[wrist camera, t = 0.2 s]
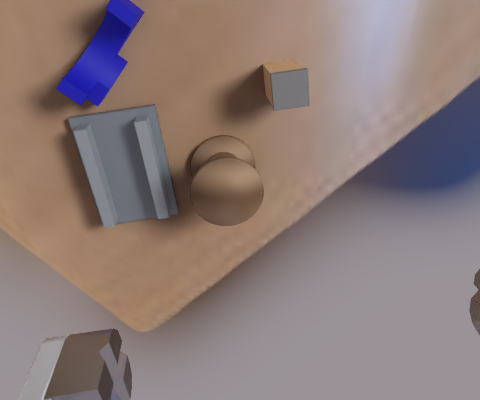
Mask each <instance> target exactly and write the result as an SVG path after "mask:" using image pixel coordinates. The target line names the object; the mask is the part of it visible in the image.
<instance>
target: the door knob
mask: <svg viewBox="0 0 480 400" xmlns="http://www.w3.org/2000/svg"><path fill="white" fill-rule="evenodd" d="M191 174H192V178H193V179H192V182H191V188H190V197H191V202H192V205H193V207H194V209H195V211H196V212H197V213H198V215H199V216H201V217H202V218H203V219H204V220H206V221H208V222H210V223H212V224H215V225H221V226H231V225H236V224H239V223H242V222H244V221H246V220H248V219H249V218H250V217H252V216H253V215H254V214H255V213H256V212H257V210H258V209H259V207H260V205H261V203H262V200H263V195H264V188H263V184H262V181H261V178H260V176H259V174H258V172H257V171H256V169H255V160H254V157H253V154H252V152H251V150H250V149H249V147H248V146H247V145H246V144H245V143H244V142H243V141H241V140H239V139H237V138H235V137H232V136H225V135H221V136H215V137H212V138H209V139H207V140H205V141H204V142H202V143H201V144H200V145H199V146H198V147H197V149H196V150H195V152H194V154H193V156H192V160H191Z"/></svg>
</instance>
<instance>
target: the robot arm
mask: <svg viewBox="0 0 480 400" xmlns="http://www.w3.org/2000/svg"><path fill="white" fill-rule="evenodd" d="M474 285H475V286H476V287H477V288H478V291H477V293H476V294H475V295H474V296H473V297H472V298H471V302H470V315H471V319H472V323H473V325H474V326H475V329H476V330H477V332H478V333H479V335H480V269H479V270H478V272H477V273H476V274H475V279H474ZM121 344H122V340H121V337H120V335H119V332H118V330H116V329H108V330H101V331H93V332H87V333H80V334H72V335H69V336H61V337H53V338H47V339H46V340H45V341H43V342H42V344H41V345H40V348H39V350H38V352H37V355H36V357H35V359H34V362H33V364H32V366H31V369H30V371H29V373H28V376H27V378H26V380H25V383H24V385H23V387H22V390H21V392H20V394H19V397H18V399H17V400H130V398H131V390H132V373H131V367H130V362H129V360H128V356H127V355H126V354H124V353H122V352H121V351H120V349H121Z"/></svg>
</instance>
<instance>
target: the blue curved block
mask: <svg viewBox="0 0 480 400" xmlns="http://www.w3.org/2000/svg"><path fill="white" fill-rule="evenodd" d="M106 9H107V12H106V15H105V17H104V20H103V22H102V24H101V26H100V28H99V29H98V31H97V33H96V35H95V36H94V38H93V40H92V41H91V43H90V44H89V46H88V47H87V49H86V50H85V52H84V53H83V55H82V56H81V58H80V59H79V60H78V62H77V63H76V64H75V66H74V67H73V68H72V69H71V70H70V72H69V73H68V74H67V75H66V76H65V77H64V78H63V79H62V80H61V82H60V83H59V85H58V87H57V88H56V89H57V90H58V91H60V92H61V93H63V94H64V95H66V96H67V97H69V98H70V99H72V100H73V101H75V102H76V103H78V104H79V105H81V104H82V103H83V102H84V101H85V100H86V99H88V100H89V101H91V102H92V103H93V104H95V105H96V106H99V104H100V103H101V102H102V101H103V99H104V98H105V96H106V95H107V93H108V91H109V90H110V88H111V87H112V85H113V84H114V82H115V81H116V79H117V78H118V76H119V75H120V73H121V72H122V70H123V69H124V67H125V66H126V64H127V63H128V62H127V61H126V60H124V59H123V58H122V57H120V56H119V55H118V52H119V51H120V49H121V48H122V46H123V44H124V43H125V41H126V40H127V38H128V37H129V35H130V34H131V32H132V31H133V29H134V27H135V26H136V24H137V23H138V21H139V20H140V18H141V17H142V15H143V13H144V12H143V11H142V10H141V9H140V8H138V7H137V6H136V5H135V4H133V3H132V2H131V1H130V0H110V1H109V3H108V5H107V6H106Z"/></svg>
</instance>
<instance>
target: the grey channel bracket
mask: <svg viewBox="0 0 480 400" xmlns="http://www.w3.org/2000/svg"><path fill="white" fill-rule="evenodd" d="M68 120H69V123H70V126H71V130H72V133H73V136H74V139H75V142H76V145H77V148H78V151H79V154H80V157H81V160H82V163H83V167H84V170H85V173H86V176H87V179H88V182H89V185H90V188H91V191H92V194H93V197H94V200H95V203H96V207H97V210H98V213H99V216H100V219H101V222H102V225H103V226H104V228H106V227H112V226H115V225H116V224H117V223H123V222H130V221H136V220H143V219H149V218H156V217H158V219H164V218H169V215H175V214H178V207H177V202H176V198H175V193H174V189H173V184H172V180H171V175H170V171H169V166H168V162H167V157H166V153H165V148H164V143H163V139H162V134H161V130H160V125H159V121H158V116H157V112H156V107H155V104H153V105H146V106H139V107H132V108H125V109H119V110H112V111H105V112H98V113H91V114H85V115H78V116H71V117H69V118H68Z"/></svg>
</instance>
